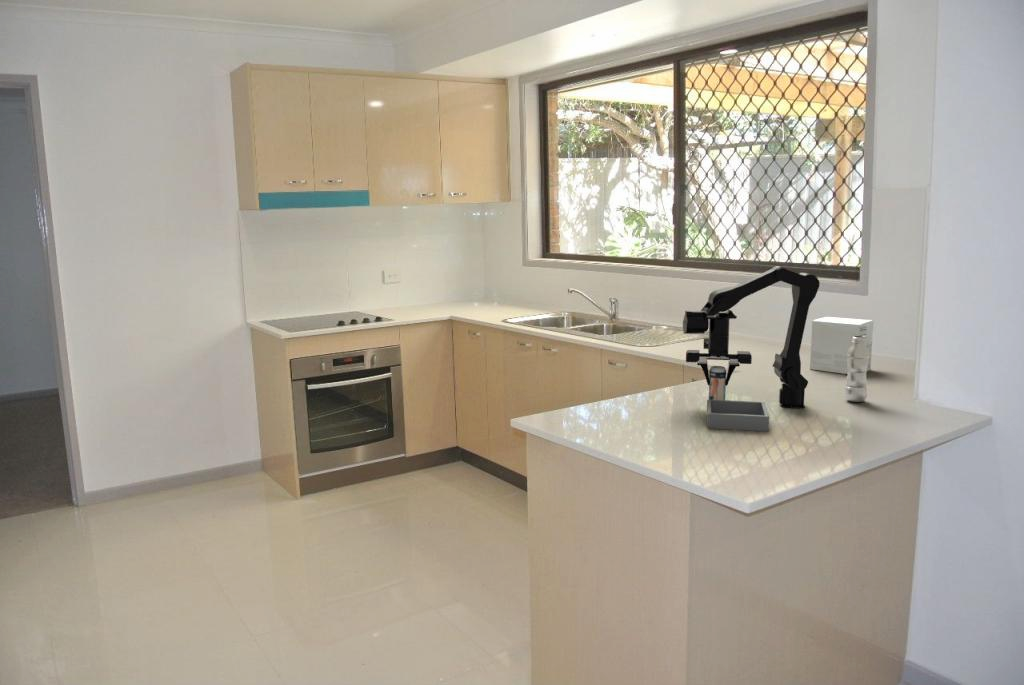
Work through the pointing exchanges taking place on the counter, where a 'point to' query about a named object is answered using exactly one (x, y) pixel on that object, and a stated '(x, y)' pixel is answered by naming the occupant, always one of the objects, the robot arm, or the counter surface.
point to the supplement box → (837, 342)
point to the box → (737, 415)
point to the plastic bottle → (857, 370)
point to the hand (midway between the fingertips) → (717, 385)
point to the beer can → (717, 383)
